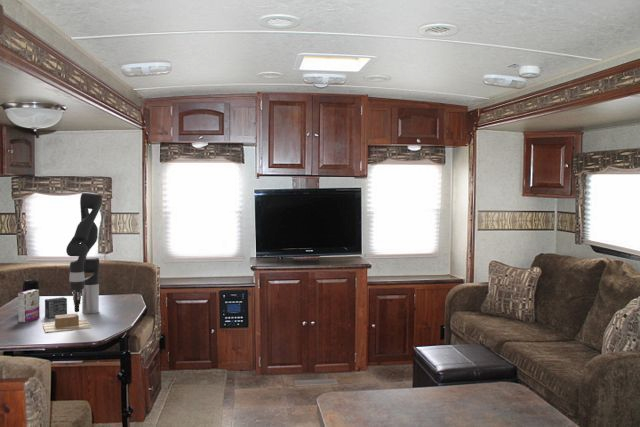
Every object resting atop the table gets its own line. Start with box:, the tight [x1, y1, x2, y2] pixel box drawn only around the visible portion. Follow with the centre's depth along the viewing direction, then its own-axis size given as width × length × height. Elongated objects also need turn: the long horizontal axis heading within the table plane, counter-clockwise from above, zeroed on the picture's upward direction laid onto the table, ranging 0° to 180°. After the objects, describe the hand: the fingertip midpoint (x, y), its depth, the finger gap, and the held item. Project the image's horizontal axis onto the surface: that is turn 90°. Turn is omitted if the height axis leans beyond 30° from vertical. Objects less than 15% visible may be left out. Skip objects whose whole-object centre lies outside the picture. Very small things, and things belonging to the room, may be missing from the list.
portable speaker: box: [22, 278, 40, 292], centre depth 321 cm, size 9×9×20 cm
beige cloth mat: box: [42, 318, 92, 334], centre depth 289 cm, size 20×22×1 cm
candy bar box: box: [17, 289, 40, 323], centre depth 300 cm, size 11×5×16 cm, turn 168°
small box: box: [44, 296, 68, 319], centre depth 310 cm, size 11×6×10 cm, turn 134°
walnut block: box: [54, 313, 80, 328], centre depth 289 cm, size 8×5×11 cm
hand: (76, 311), depth 291 cm, fingers closed
